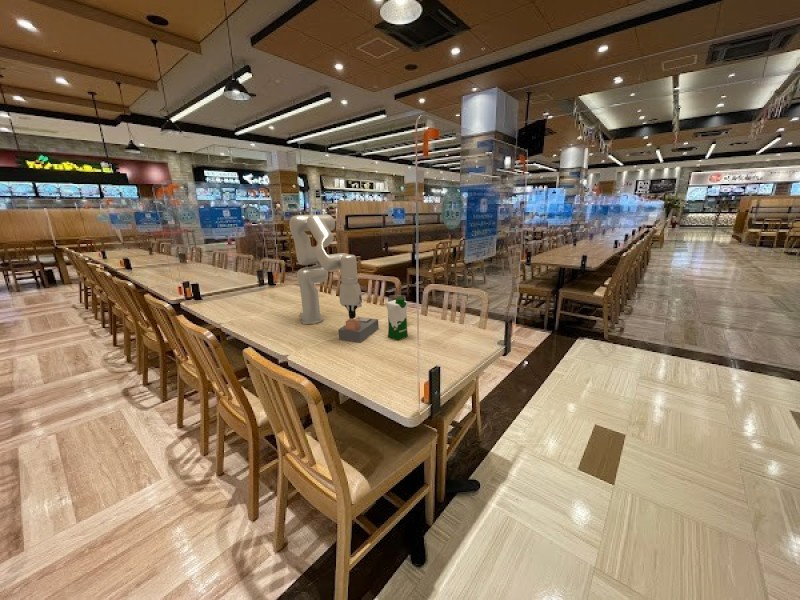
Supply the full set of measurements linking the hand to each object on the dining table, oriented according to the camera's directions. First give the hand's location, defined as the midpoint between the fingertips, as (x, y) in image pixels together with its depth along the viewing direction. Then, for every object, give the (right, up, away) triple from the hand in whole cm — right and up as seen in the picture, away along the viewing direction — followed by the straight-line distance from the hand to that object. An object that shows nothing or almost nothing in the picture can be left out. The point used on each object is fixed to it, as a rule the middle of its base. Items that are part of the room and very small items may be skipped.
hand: (352, 317), depth 155 cm
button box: (+3, -9, +8) cm, 12 cm away
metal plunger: (+5, -6, +13) cm, 15 cm away
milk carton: (+22, -10, +4) cm, 24 cm away
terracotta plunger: (0, -6, +2) cm, 6 cm away
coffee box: (+22, -5, +21) cm, 31 cm away
